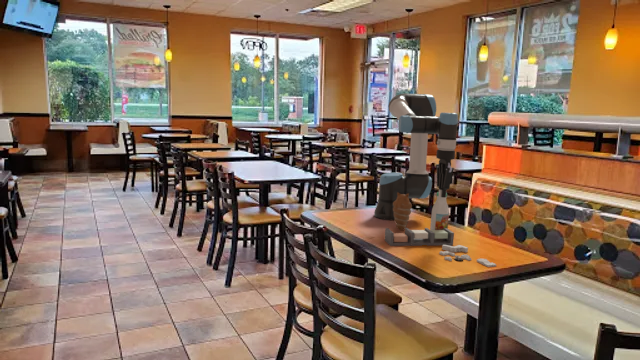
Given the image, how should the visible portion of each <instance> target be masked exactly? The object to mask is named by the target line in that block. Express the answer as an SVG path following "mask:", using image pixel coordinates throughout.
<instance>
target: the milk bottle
mask: <svg viewBox="0 0 640 360" xmlns="http://www.w3.org/2000/svg"><path fill="white" fill-rule="evenodd" d="M438 196H439V191H437V192H436V200H435V202H434V204H433V206H432V209H431V216H430V217H431V219H430V226H429V227H430V228H429V230H444V228H447V229H449V217H450V216H449V215H450V210H449V205H448V203H447V200H446V201H445V205H439V204H438ZM447 197H448V193H447V192H446V199H448V198H447Z"/></svg>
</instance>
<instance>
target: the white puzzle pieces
mask: <svg viewBox="0 0 640 360" xmlns="http://www.w3.org/2000/svg"><path fill="white" fill-rule="evenodd" d="M441 249H442V250H443V251H442V250H440V251H439V252H438V253H439V255H441V256H443V257H444V260H445V261H449V262H452V261H453V260H454V261H455V262H464V260H465V261H466V260H467V261H472V258H471V256H470V255H468V254H466V253H468V252H469V247H467V246H464V245H461V244H457V245H455V246H454V245H441ZM459 252H462V253H465V254H462V255H456V253H459ZM453 257H454V258H453ZM476 262H477V263H479V264H481V265H483V266H484V267H487V268H493V267H494V268H495V267H497V263H494V262H490V260H489V259H487V258H477V259H476Z"/></svg>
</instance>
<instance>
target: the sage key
mask: <svg viewBox="0 0 640 360" xmlns="http://www.w3.org/2000/svg"><path fill="white" fill-rule="evenodd" d="M431 231H432V232H434V239H443V238H448V233H447V232H446V231H444V230H431Z"/></svg>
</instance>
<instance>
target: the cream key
mask: <svg viewBox="0 0 640 360" xmlns="http://www.w3.org/2000/svg"><path fill="white" fill-rule="evenodd" d="M410 230H411V231H412V232H413V233H414V239H428V233H427V232H426V231H425V229H410Z"/></svg>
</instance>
